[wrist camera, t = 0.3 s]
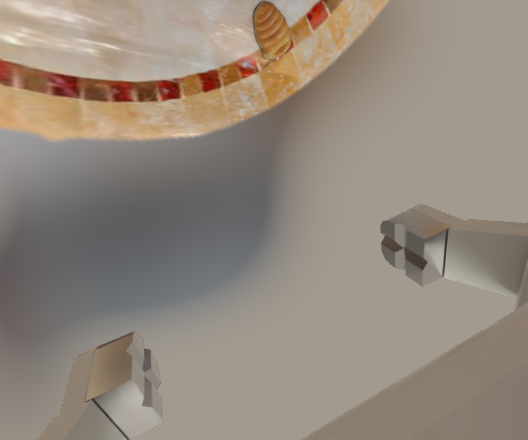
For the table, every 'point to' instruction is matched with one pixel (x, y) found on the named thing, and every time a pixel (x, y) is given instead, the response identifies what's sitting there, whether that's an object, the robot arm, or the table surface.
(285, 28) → the pastry
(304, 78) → the table surface
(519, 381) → the robot arm
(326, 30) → the table surface
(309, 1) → the table surface
